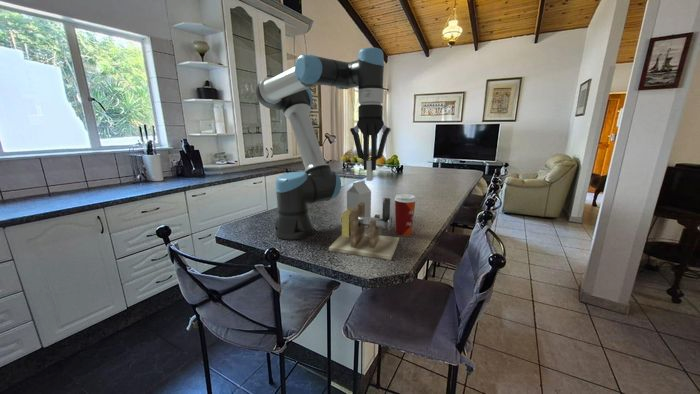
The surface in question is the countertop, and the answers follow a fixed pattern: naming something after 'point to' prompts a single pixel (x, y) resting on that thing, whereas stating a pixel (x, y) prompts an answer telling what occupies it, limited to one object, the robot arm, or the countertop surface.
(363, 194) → the milk carton
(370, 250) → the wooden stand with blocks
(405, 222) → the coffee cup
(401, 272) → the countertop surface
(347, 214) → the spacer
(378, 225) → the silver bent bar
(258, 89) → the robot arm
